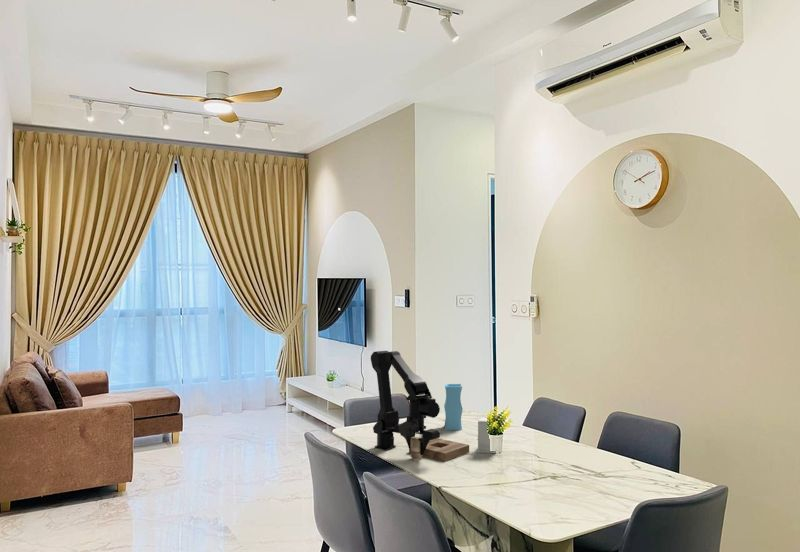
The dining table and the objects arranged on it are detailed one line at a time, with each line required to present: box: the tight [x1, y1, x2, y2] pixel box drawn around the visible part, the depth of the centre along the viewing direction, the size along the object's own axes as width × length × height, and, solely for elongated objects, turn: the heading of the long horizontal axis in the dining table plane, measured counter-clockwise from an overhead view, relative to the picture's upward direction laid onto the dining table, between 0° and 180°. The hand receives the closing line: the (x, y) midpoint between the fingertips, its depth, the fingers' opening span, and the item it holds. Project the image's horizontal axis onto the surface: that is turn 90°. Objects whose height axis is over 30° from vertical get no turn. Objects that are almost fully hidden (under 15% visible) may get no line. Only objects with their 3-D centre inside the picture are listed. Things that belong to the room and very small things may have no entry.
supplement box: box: [477, 417, 497, 454], centre depth 245 cm, size 7×7×13 cm
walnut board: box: [408, 438, 470, 462], centre depth 242 cm, size 18×16×3 cm
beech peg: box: [410, 436, 424, 461], centre depth 233 cm, size 5×5×8 cm
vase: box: [443, 383, 463, 431], centre depth 283 cm, size 8×8×20 cm
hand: (416, 453), depth 233 cm, fingers closed on beech peg, 5 cm apart
